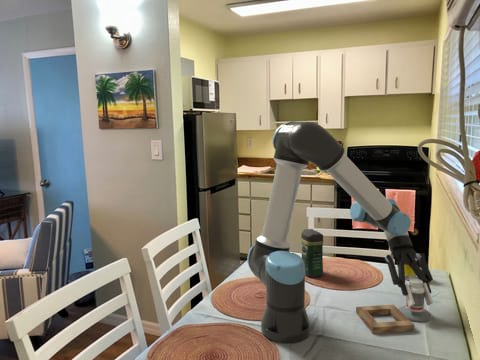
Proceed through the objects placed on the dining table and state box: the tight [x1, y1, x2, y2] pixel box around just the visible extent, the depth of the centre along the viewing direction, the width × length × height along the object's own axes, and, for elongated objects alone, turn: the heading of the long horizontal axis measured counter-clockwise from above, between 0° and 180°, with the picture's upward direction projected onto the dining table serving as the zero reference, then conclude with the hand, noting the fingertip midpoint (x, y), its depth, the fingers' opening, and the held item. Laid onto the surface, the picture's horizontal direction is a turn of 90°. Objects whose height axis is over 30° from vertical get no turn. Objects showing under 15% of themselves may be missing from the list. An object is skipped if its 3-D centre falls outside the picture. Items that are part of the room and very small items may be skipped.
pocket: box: [355, 304, 415, 334], centre depth 123 cm, size 13×13×2 cm
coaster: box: [398, 305, 432, 323], centre depth 127 cm, size 10×10×1 cm
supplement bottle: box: [404, 258, 418, 281], centre depth 155 cm, size 6×6×10 cm
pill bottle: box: [405, 277, 425, 312], centre depth 126 cm, size 5×5×10 cm
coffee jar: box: [300, 228, 324, 278], centre depth 161 cm, size 10×8×19 cm
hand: (421, 304), depth 123 cm, fingers closed on pill bottle, 5 cm apart
